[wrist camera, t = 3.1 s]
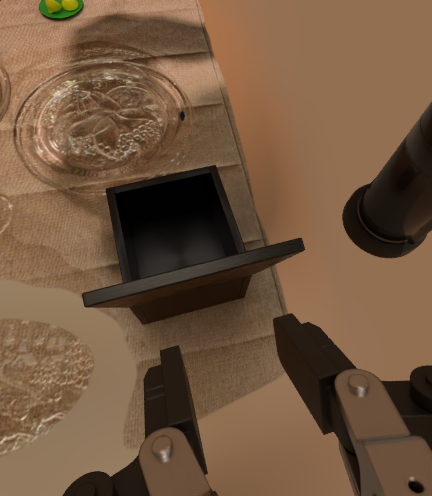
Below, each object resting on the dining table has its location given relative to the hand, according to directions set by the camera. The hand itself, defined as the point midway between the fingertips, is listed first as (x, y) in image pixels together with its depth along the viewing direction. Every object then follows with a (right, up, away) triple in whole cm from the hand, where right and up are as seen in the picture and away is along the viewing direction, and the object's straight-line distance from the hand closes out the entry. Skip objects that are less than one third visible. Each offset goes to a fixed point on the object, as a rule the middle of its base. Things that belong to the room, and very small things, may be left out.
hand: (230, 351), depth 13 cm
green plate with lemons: (-30, +49, +53) cm, 78 cm away
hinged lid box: (-5, +2, +32) cm, 32 cm away
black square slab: (-2, +2, +13) cm, 14 cm away
